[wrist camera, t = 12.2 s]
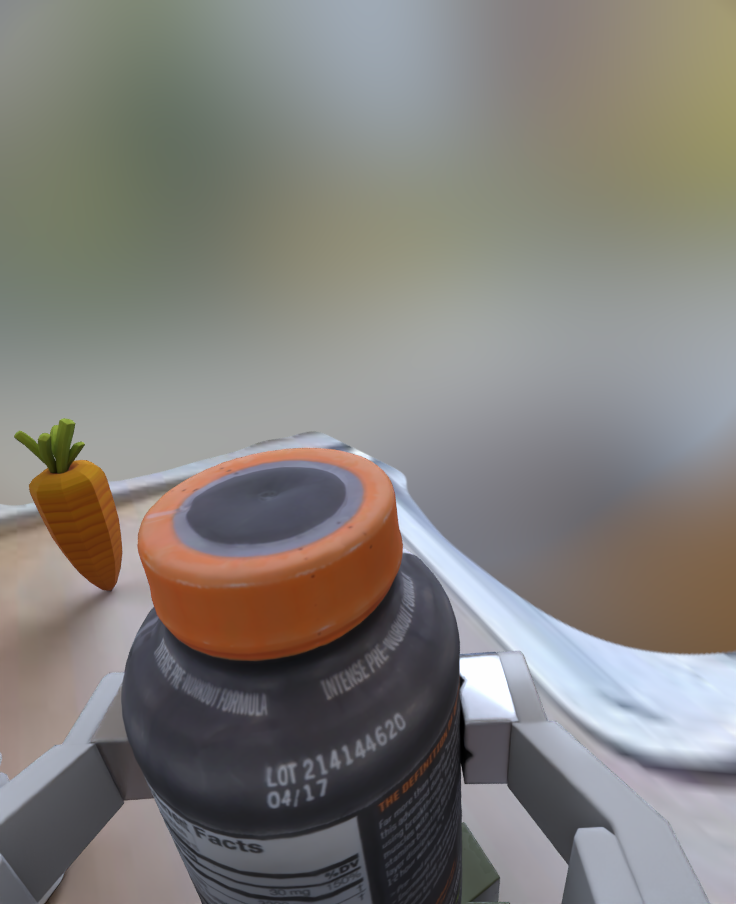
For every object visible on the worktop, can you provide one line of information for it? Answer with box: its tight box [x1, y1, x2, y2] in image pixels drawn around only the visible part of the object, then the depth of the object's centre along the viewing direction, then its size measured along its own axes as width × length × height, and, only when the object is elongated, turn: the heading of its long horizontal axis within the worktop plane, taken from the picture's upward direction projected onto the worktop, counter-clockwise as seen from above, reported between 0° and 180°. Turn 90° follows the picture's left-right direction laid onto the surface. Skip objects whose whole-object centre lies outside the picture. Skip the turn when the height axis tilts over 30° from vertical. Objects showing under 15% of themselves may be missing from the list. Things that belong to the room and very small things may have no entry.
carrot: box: [14, 418, 122, 591], centre depth 36 cm, size 5×5×15 cm
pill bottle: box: [121, 448, 462, 904], centre depth 10 cm, size 6×6×11 cm
